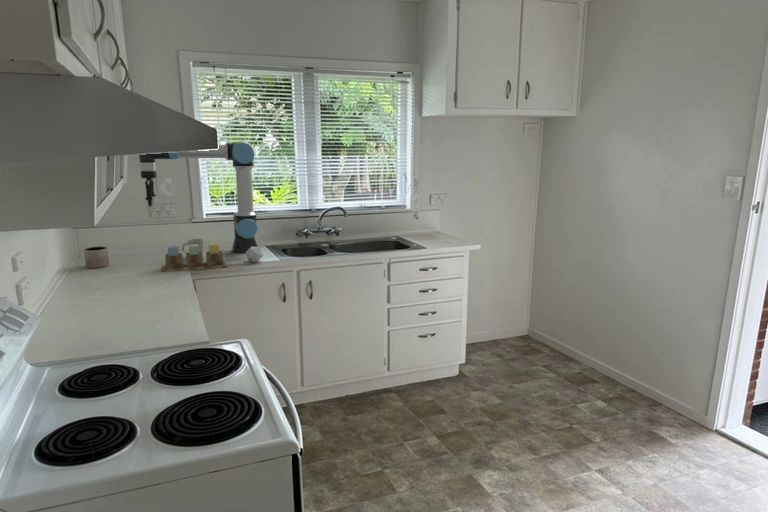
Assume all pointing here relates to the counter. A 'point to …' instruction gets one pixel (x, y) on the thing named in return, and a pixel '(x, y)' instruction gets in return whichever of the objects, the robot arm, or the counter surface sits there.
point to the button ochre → (213, 248)
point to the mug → (194, 241)
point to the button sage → (194, 249)
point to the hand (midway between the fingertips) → (151, 210)
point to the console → (193, 262)
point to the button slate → (173, 250)
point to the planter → (96, 257)
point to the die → (254, 254)
